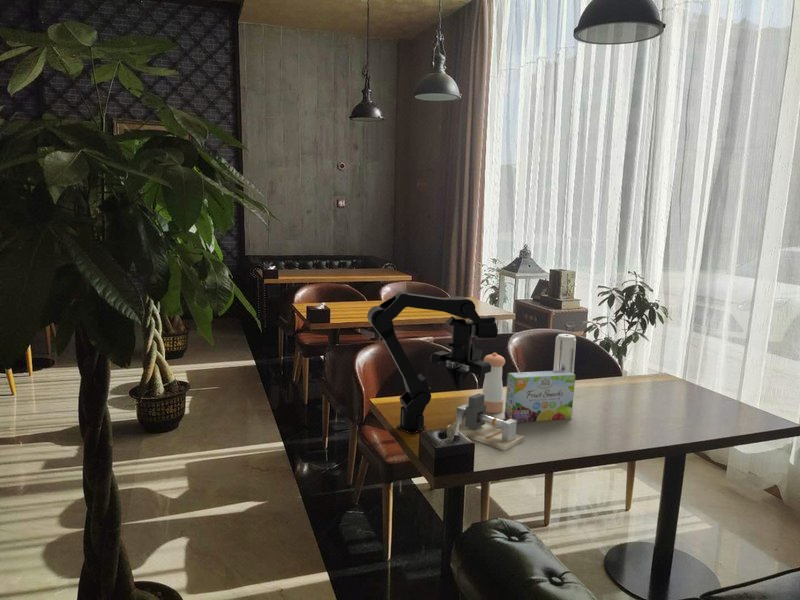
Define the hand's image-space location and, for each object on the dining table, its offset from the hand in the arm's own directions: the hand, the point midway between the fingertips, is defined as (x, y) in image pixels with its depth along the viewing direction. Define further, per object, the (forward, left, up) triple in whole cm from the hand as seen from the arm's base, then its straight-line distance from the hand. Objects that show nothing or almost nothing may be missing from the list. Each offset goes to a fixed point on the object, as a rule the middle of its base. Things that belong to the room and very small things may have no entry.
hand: (458, 390), depth 169 cm
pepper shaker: (-1, +20, -11) cm, 23 cm away
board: (+10, 0, -11) cm, 15 cm away
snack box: (+14, +24, -12) cm, 30 cm away
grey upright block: (+7, 0, -9) cm, 11 cm away
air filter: (+14, +39, -11) cm, 43 cm away
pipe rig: (+10, 0, -10) cm, 14 cm away
